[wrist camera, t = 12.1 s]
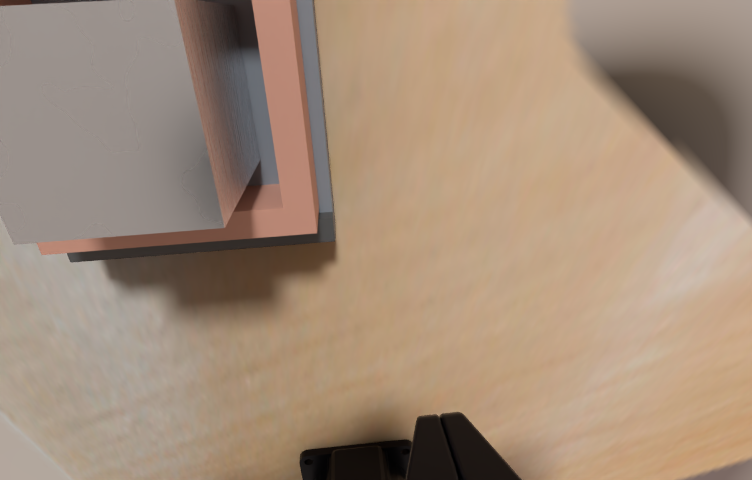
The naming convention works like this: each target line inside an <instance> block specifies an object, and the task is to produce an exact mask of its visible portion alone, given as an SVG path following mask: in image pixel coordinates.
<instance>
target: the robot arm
mask: <svg viewBox="0 0 752 480" xmlns="http://www.w3.org/2000/svg"><path fill="white" fill-rule="evenodd" d="M300 467H301V473H302V478H303V480H522V479H521V478H520V477H519V476H518V475H517V474H516V473H515V472H514V470H513V469H512V468H511V467H510V466H509V465H508V464H507V463H506V462H505V460H504V459H503V458H502V457H501V456H500V455H499V454H498V453H497V451H496V450H495V449H494V448H493V447H492V446H491V445H490V444H489V442H488V441H487V440H486V439H485V438H484V437H483V436H482V435H481V433H480V432H479V431H478V430H477V429H476V428H475V427H474V426H473V424H472V423H471V422H470V421H469V420H468V419H467V418H466V417H465V415H464V414H462V413H460V412H453V413H444V414H441V415H440V417H439V416H438V415H435V414H434V415H424V416H419V417H418V418H417V420H416V425H415V431H414V436H413V442H411V441H409V440H398V441H388V442H379V443H369V444H360V445H350V446H341V447H331V448H322V449H312V450H306V451H303V452H302V453H301V454H300Z"/></svg>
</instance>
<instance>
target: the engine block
mask: <svg viewBox="0 0 752 480" xmlns="http://www.w3.org/2000/svg"><path fill="white" fill-rule="evenodd" d="M259 161H260V154H259V148H258V142H257V136H256V130H255V124H254V118H253V112H252V107H251V101H250V95H249V89H248V83H247V77H246V71H245V65H244V59H243V53H242V47H241V42H240V36H239V30H238V24H237V18H236V12H235V6H234V5H228V4H221V3H213V2H206V1H198V0H110V1H90V2H70V3H50V4H31V5H11V6H0V216H1V218H2V220H3V222H4V224H5V227H6V229H7V231H8V233H9V235H10V237H11V239H12V242H13V244H27V243H40V242H52V241H65V240H78V239H90V238H103V237H116V236H129V235H141V234H154V233H167V232H179V231H192V230H205V229H218V228H225V227H226V225H227V223H228V221H229V219H230V217H231V215H232V213H233V211H234V209H235V207H236V205H237V203H238V201H239V200H240V198H241V196H242V194H243V192H244V190H245V188H246V186H247V184H248V182H249V180H250V178H251V176H252V175H253V173H254V171H255V169H256V167H257V165H258V163H259Z"/></svg>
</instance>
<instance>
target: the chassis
mask: <svg viewBox="0 0 752 480" xmlns="http://www.w3.org/2000/svg"><path fill="white" fill-rule="evenodd" d="M90 1H110V0H0V6H11V5H31V4H50V3H70V2H90ZM198 1H206V2H213V3H221V4H228V5H234V6H235V12H236V18H237V24H238V30H239V36H240V42H241V47H242V53H243V59H244V65H245V71H246V77H247V83H248V89H249V95H250V101H251V107H252V112H253V118H254V124H255V130H256V136H257V142H258V148H259V154H260V161H259V163H258V165H257V167H256V169H255V171H254V173H253V175H252V176H251V178H250V180H249V182H248V184H247V186H246V188H245V190H244V192H243V194H242V196H241V198H240V200H239V201H238V203H237V205H236V207H235V209H234V211H233V213H232V215H231V217H230V219H229V221H228V223H227V225H226V227H225V228H218V229H205V230H192V231H179V232H167V233H154V234H141V235H129V236H116V237H103V238H90V239H78V240H65V241H52V242H40V243H37V245H38V247H39V250H40V252H41V254H42V255H47V254H60V253H67V255H68V257H69V260H70V262H82V261H94V260H107V259H119V258H132V257H144V256H157V255H169V254H182V253H194V252H207V251H219V250H232V249H245V248H257V247H270V246H282V245H295V244H307V243H320V242H332V241H335V216H334V205H333V195H332V184H331V174H330V164H329V153H328V143H327V133H326V122H325V112H324V101H323V91H322V81H321V70H320V60H319V49H318V39H317V29H316V18H315V8H314V0H198Z"/></svg>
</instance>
